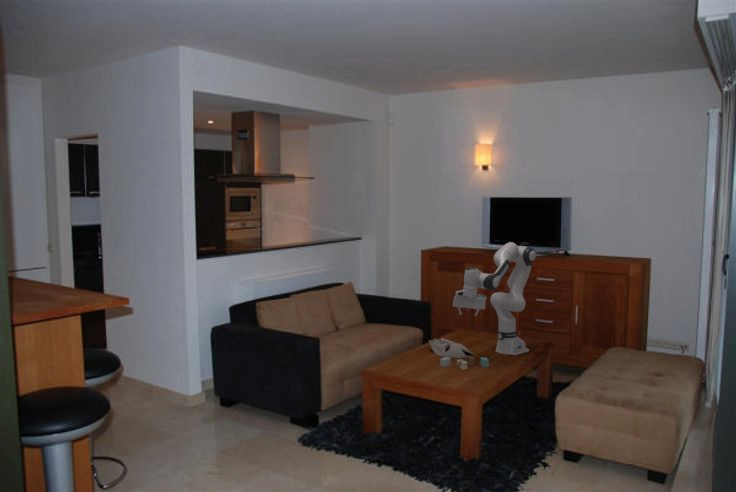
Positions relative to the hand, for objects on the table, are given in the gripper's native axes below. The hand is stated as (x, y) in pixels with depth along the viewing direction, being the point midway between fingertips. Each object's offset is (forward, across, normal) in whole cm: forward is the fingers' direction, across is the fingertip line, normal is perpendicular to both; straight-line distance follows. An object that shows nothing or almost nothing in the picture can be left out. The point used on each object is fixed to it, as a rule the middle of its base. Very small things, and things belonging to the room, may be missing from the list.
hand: (468, 315), depth 382 cm
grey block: (+31, +12, +9) cm, 34 cm away
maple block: (+30, +2, +13) cm, 33 cm away
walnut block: (+30, -3, +4) cm, 30 cm away
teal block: (+29, -12, +7) cm, 32 cm away
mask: (+29, +9, -20) cm, 36 cm away
